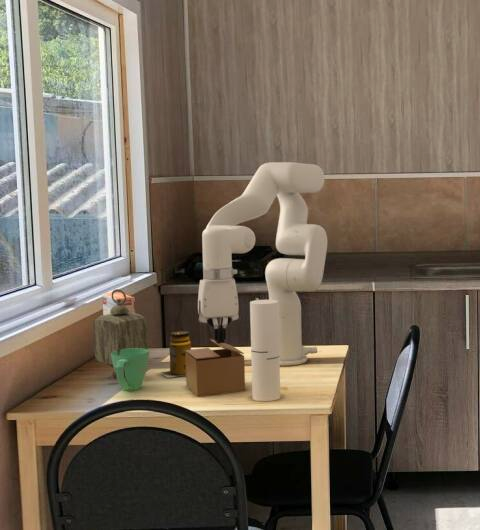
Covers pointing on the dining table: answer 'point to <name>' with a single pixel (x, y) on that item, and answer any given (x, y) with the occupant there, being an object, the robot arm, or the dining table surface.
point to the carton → (214, 371)
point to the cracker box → (109, 303)
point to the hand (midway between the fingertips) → (219, 342)
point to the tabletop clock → (118, 332)
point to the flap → (228, 347)
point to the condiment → (178, 354)
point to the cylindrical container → (265, 350)
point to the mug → (130, 367)
